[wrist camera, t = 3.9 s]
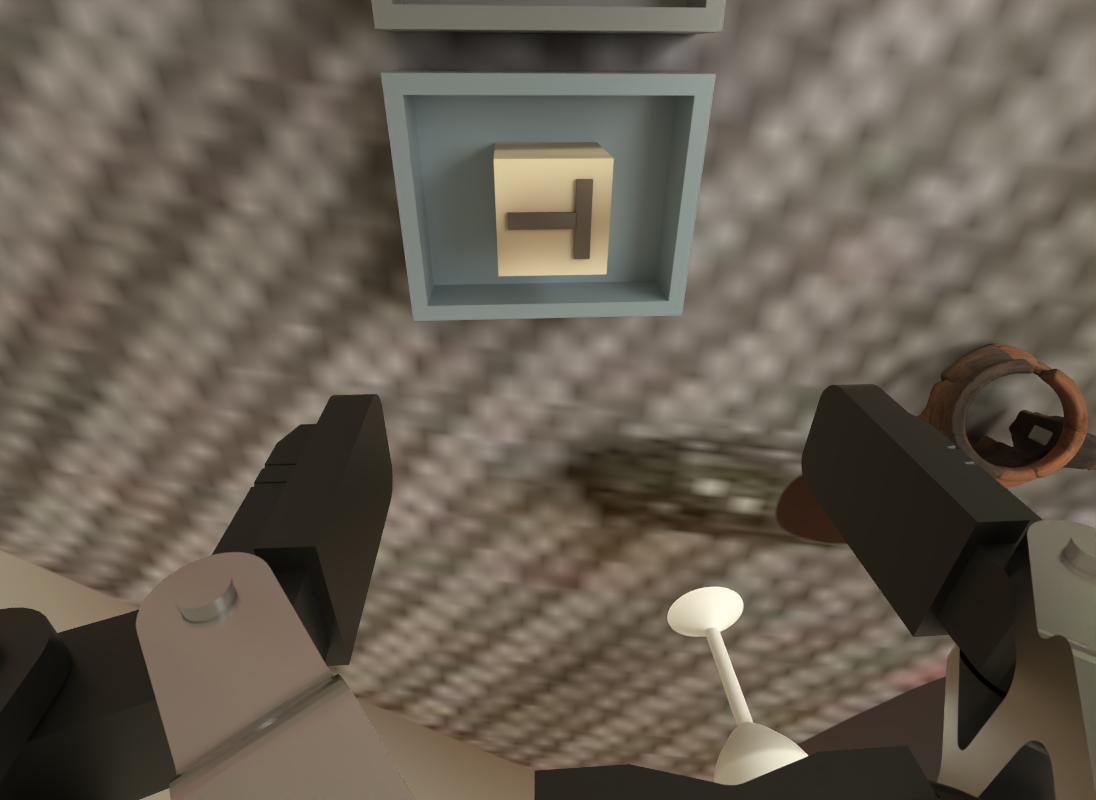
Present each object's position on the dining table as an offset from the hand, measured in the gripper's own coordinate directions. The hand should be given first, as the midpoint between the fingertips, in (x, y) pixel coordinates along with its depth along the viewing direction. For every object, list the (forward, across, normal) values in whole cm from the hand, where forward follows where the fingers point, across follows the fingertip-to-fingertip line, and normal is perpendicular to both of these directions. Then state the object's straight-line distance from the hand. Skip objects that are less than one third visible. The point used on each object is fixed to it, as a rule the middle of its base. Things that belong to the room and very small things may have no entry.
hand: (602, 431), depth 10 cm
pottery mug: (+22, -30, +14) cm, 40 cm away
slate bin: (+22, 0, 0) cm, 22 cm away
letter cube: (+22, 0, 0) cm, 22 cm away
